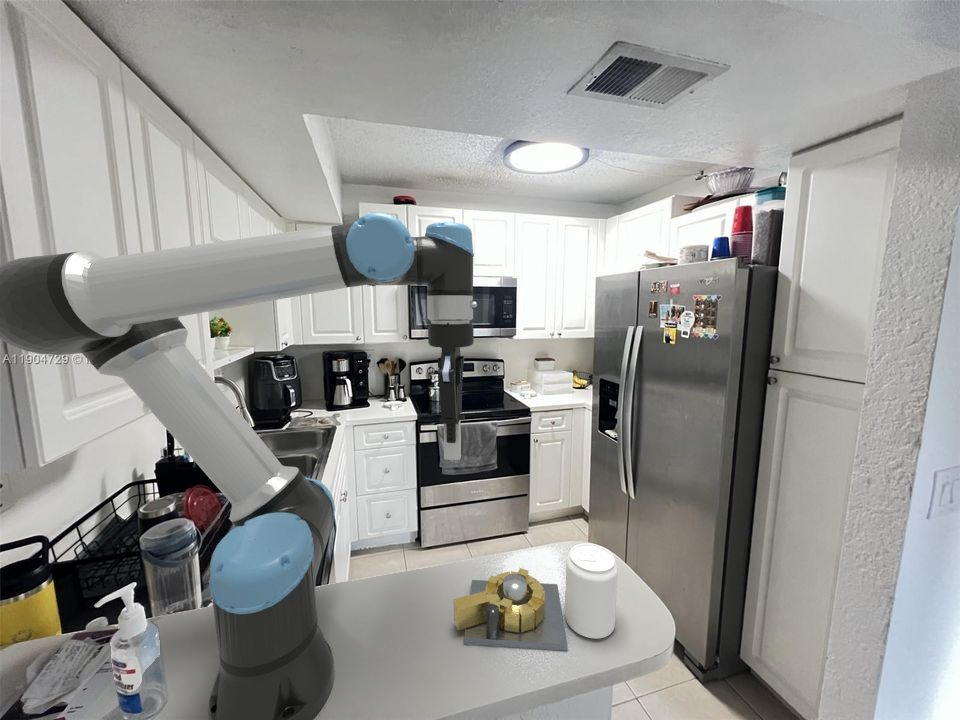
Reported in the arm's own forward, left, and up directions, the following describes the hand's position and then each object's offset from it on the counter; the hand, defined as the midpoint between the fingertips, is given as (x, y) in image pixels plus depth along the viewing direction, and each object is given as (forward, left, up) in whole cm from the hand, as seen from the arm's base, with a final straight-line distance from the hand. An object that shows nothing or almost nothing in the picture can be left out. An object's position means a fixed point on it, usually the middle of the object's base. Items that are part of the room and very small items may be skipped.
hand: (452, 457), depth 68 cm
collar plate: (+11, -4, -26) cm, 29 cm away
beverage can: (+24, -5, -27) cm, 36 cm away
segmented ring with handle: (+8, -5, -25) cm, 27 cm away
